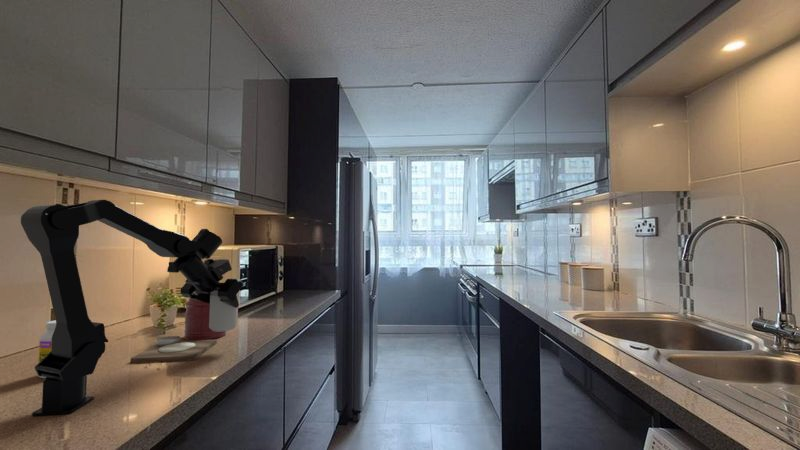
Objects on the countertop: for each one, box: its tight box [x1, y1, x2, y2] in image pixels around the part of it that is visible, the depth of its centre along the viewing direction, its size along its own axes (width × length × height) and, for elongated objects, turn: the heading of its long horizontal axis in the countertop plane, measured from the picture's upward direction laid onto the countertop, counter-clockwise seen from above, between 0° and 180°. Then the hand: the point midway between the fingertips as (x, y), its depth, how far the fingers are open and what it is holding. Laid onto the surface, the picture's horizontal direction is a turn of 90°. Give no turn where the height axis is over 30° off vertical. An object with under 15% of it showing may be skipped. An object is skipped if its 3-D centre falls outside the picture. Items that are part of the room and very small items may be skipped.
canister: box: [183, 298, 227, 341], centre depth 121 cm, size 13×13×18 cm
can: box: [209, 291, 239, 332], centre depth 104 cm, size 8×8×12 cm
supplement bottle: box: [37, 319, 56, 379], centre depth 86 cm, size 7×7×13 cm
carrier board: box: [130, 335, 218, 364], centre depth 103 cm, size 16×16×3 cm
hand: (227, 305), depth 105 cm, fingers closed on can, 7 cm apart
